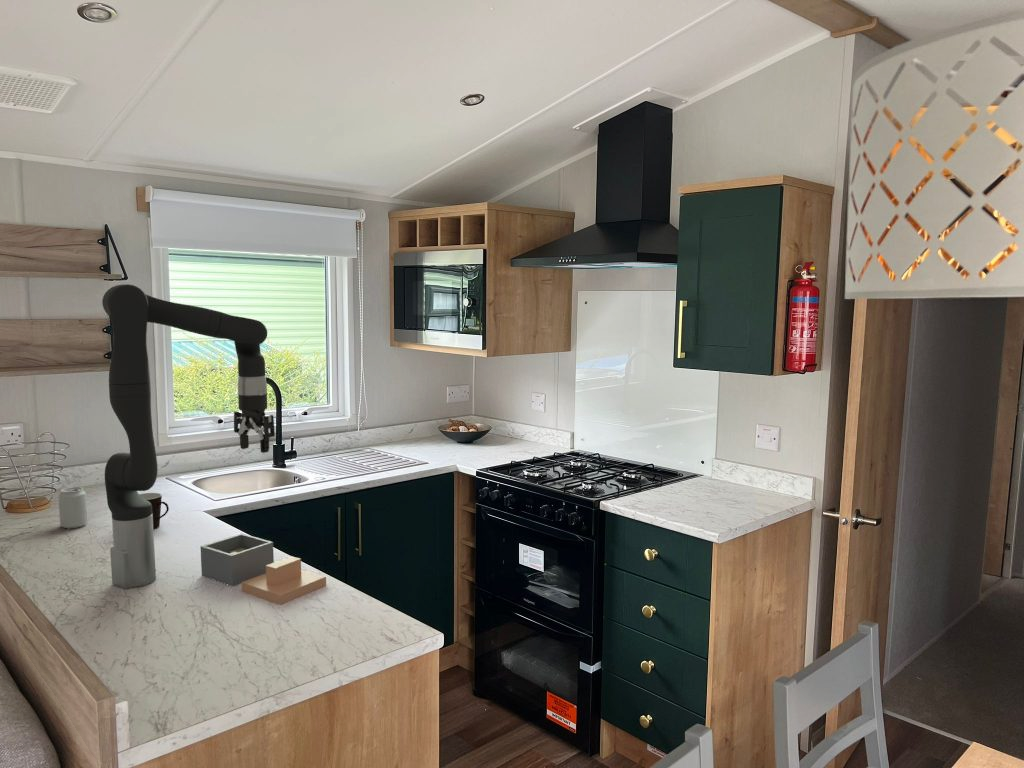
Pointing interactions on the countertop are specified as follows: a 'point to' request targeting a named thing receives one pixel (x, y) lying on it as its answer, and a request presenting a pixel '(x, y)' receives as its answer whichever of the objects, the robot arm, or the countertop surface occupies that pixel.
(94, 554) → the countertop surface
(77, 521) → the can
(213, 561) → the storage box
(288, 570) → the lid
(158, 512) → the coffee mug
